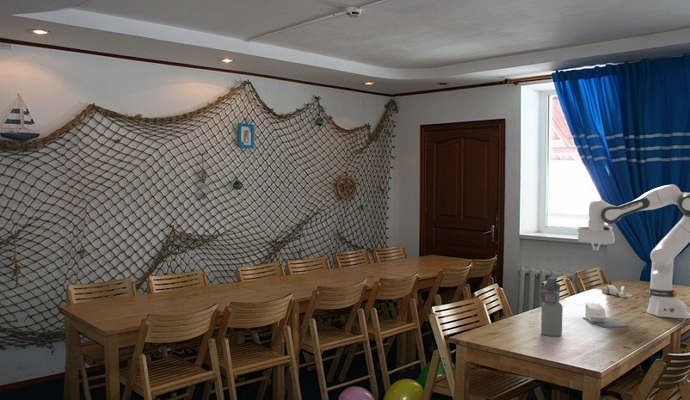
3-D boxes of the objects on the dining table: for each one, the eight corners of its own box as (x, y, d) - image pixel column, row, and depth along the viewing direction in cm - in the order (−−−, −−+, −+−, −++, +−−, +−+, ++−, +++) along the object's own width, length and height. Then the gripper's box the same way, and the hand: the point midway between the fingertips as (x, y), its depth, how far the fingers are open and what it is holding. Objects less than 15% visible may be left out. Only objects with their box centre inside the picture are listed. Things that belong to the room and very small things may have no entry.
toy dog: (623, 299, 385) (624, 285, 384) (597, 294, 400) (597, 280, 400) (634, 297, 392) (634, 283, 391) (608, 292, 407) (608, 279, 407)
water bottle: (559, 338, 289) (560, 280, 288) (538, 335, 294) (539, 278, 293) (563, 333, 298) (565, 277, 297) (543, 330, 303) (544, 275, 302)
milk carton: (598, 316, 333) (606, 324, 314) (585, 315, 334) (591, 323, 316) (599, 303, 332) (606, 311, 314) (585, 302, 334) (591, 310, 315)
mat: (583, 318, 330) (583, 317, 330) (606, 317, 332) (606, 316, 332) (603, 327, 310) (603, 326, 310) (628, 326, 312) (628, 325, 312)
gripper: (577, 226, 360) (576, 249, 361) (614, 228, 350) (613, 251, 350) (578, 225, 366) (578, 248, 366) (615, 227, 355) (614, 250, 356)
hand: (595, 250), depth 358 cm, fingers closed
